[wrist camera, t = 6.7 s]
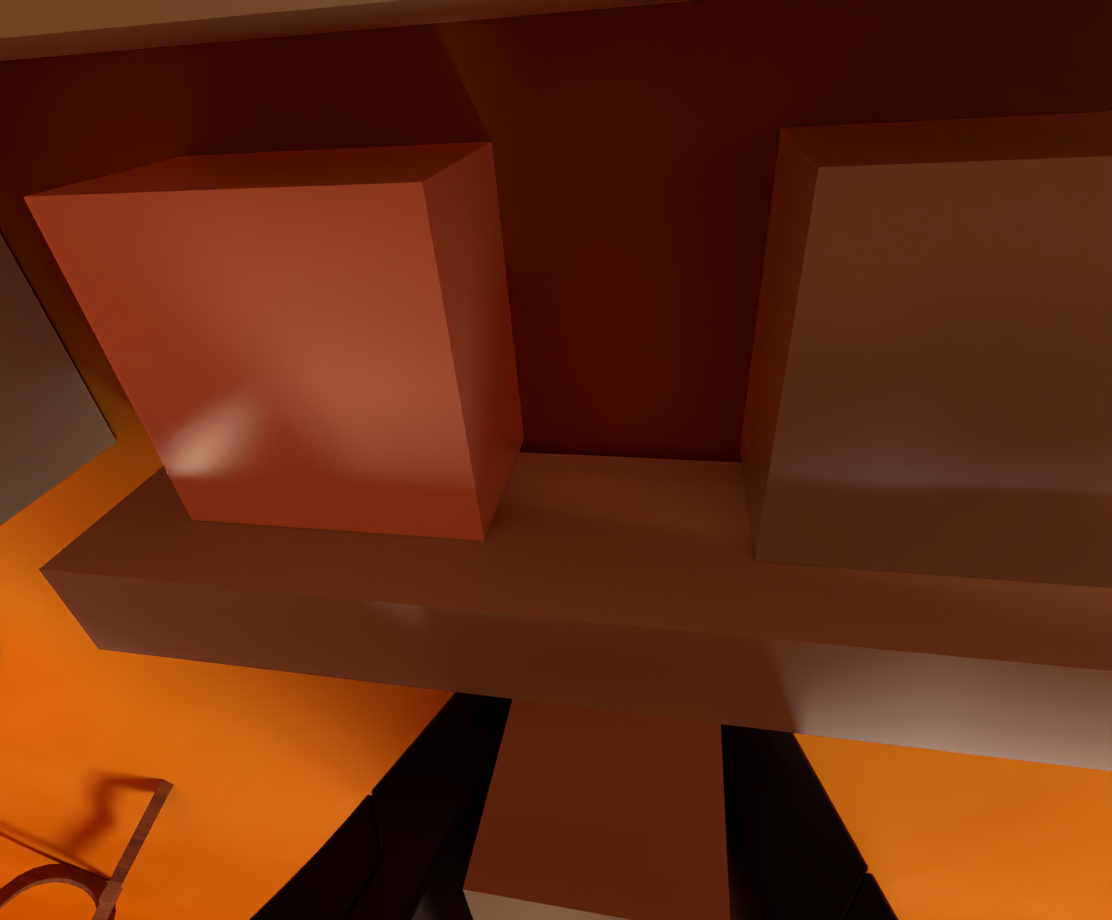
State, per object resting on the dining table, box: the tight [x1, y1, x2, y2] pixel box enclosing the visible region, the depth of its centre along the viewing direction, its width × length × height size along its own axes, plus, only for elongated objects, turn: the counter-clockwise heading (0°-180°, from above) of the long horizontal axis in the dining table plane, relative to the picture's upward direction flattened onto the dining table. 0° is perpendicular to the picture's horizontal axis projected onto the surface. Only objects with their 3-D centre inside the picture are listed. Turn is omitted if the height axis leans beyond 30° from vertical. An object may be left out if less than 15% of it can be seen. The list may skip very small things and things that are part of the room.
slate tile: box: [740, 112, 1112, 587], centre depth 6 cm, size 4×4×2 cm
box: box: [0, 0, 698, 525], centre depth 6 cm, size 6×20×4 cm, turn 94°
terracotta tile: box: [23, 142, 524, 541], centre depth 8 cm, size 4×4×2 cm
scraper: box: [39, 452, 1112, 920], centre depth 9 cm, size 9×14×5 cm, turn 94°
